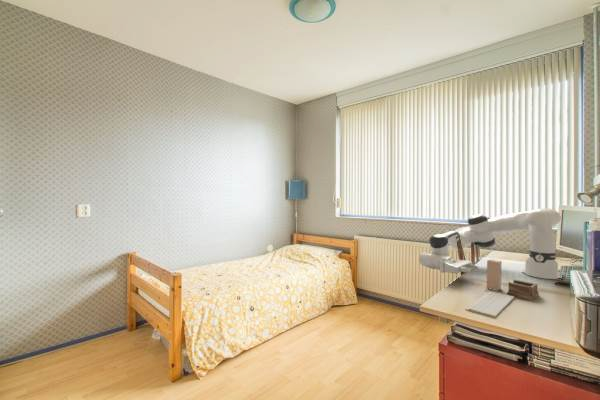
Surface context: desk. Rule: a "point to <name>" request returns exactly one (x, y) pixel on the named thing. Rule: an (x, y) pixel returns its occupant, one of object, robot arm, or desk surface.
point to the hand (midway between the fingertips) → (474, 269)
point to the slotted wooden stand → (523, 290)
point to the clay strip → (494, 274)
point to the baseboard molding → (490, 303)
